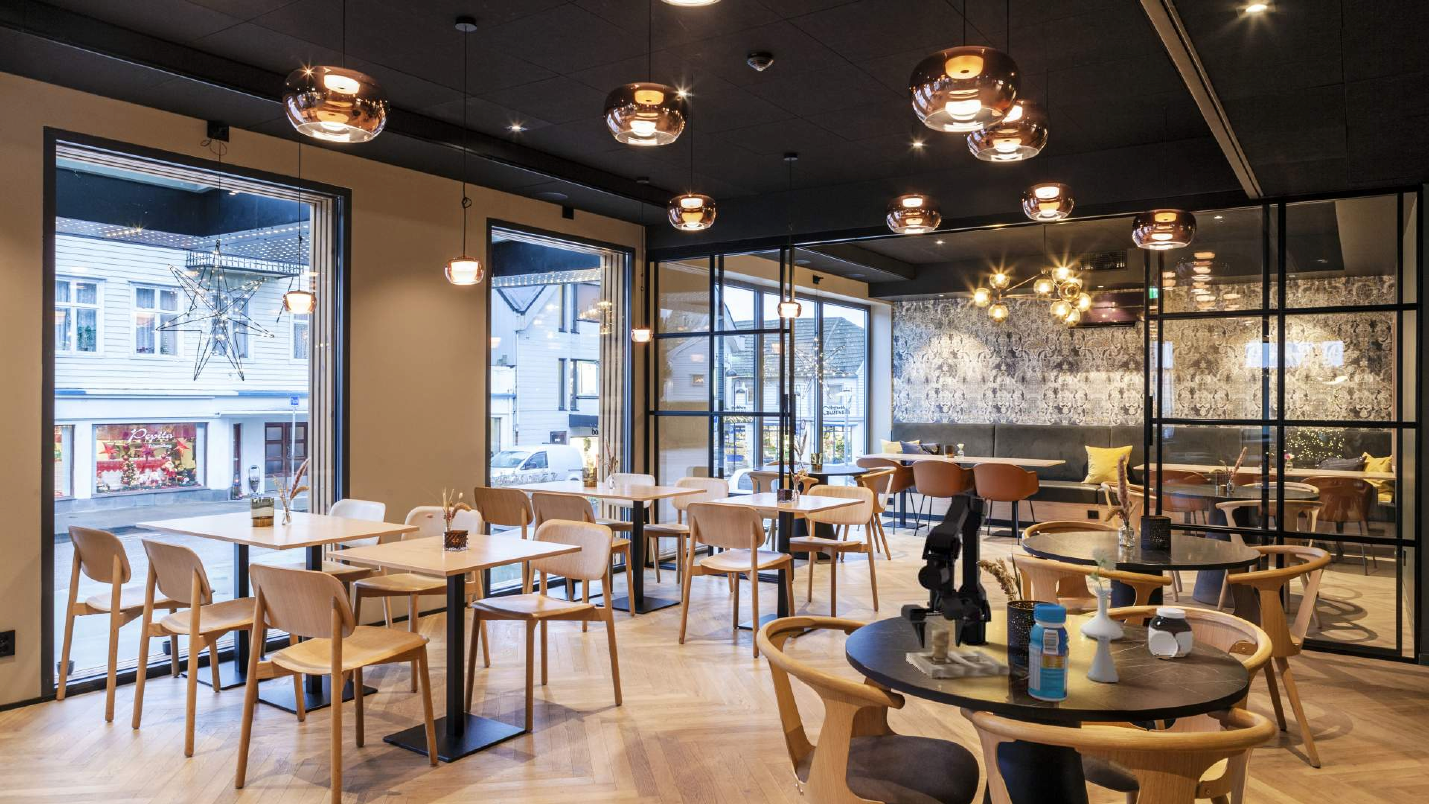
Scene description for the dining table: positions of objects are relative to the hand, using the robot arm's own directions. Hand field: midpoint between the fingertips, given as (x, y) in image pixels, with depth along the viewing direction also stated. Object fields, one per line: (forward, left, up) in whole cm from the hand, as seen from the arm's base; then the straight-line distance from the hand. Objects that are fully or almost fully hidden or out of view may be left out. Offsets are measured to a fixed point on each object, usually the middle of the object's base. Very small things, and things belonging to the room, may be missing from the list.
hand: (940, 647), depth 225 cm
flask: (-36, +13, -5) cm, 38 cm away
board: (-5, 0, -5) cm, 7 cm away
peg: (0, 0, -5) cm, 5 cm away
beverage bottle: (-15, +23, -5) cm, 28 cm away
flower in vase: (-61, -23, -5) cm, 65 cm away
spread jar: (-67, -3, -5) cm, 67 cm away
